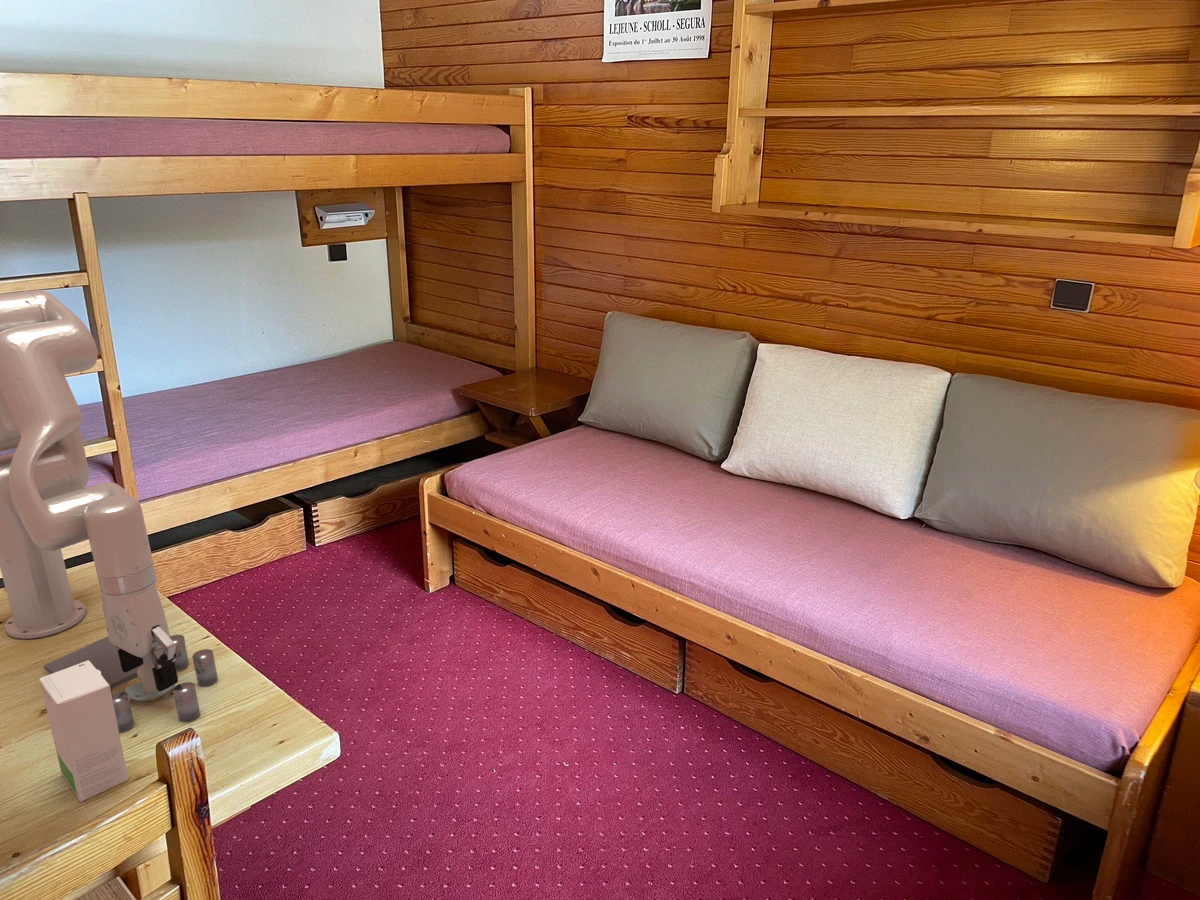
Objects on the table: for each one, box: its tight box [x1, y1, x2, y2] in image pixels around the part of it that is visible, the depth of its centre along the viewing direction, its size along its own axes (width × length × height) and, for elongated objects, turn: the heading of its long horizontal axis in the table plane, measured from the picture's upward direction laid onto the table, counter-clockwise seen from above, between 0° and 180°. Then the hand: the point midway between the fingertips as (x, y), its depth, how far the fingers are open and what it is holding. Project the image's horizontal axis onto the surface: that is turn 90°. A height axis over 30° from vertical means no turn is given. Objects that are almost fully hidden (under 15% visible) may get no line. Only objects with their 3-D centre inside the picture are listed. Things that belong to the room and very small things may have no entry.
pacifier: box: [124, 663, 176, 702], centre depth 142 cm, size 7×6×6 cm
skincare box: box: [38, 660, 129, 803], centre depth 122 cm, size 8×7×16 cm
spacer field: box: [111, 634, 219, 734], centre depth 140 cm, size 17×17×5 cm
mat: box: [42, 635, 163, 691], centre depth 152 cm, size 15×16×1 cm
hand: (150, 677), depth 141 cm, fingers open, 9 cm apart
